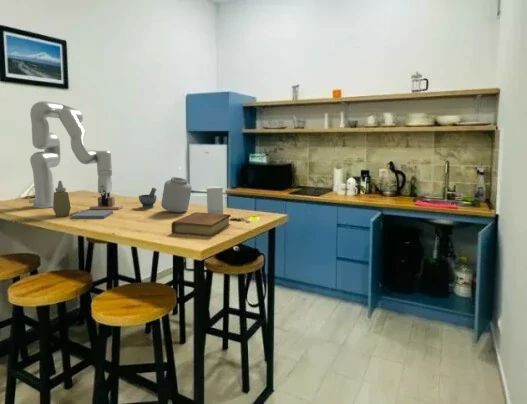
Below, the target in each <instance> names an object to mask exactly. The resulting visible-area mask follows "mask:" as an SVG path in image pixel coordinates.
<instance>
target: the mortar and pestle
mask: <svg viewBox="0 0 527 404" xmlns="http://www.w3.org/2000/svg"><path fill="white" fill-rule="evenodd" d="M157 190H158V189H157V188H156V187H152V188H151V191H150V192H149V194H141V195H138V201H139V204H141V205H142V206H141V207H142V208H143V209H153V208H154V205H155V203H156V202H157V195H156V191H157Z"/></svg>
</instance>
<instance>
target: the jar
mask: <svg viewBox="0 0 527 404" xmlns="http://www.w3.org/2000/svg"><path fill="white" fill-rule="evenodd" d="M179 170H181V167H179ZM185 175H188V173H186V174H185ZM188 181H189V180H188V179H186V178H183V177H176V176H175V177H174V176H172V177H170V179H169V180H168V179H167V180H166V181H165V182H164V186H163V191H162V198H161V205H160V206H161V207H162V208H163V210H165V211H168V212H170V213H177V214H179V213H180V214H181V213H185V212H187V211H188V208H189V204H190V200H191V199H190V198H191V193H192V190H193V189H192V185H191V184H190V183H189V182H188Z"/></svg>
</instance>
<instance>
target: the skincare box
mask: <svg viewBox="0 0 527 404" xmlns="http://www.w3.org/2000/svg"><path fill="white" fill-rule="evenodd" d="M223 190H224V189H223V186H222V185H221V186H220V185H219V186H217V185H216V186H207V187H206V202H207V203H206V204H207V205H206V208H207V212H206V213H214V214H224V196H223Z"/></svg>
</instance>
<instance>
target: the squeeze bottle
mask: <svg viewBox="0 0 527 404" xmlns="http://www.w3.org/2000/svg"><path fill="white" fill-rule="evenodd" d="M71 208H72V207H71V202H70V197H69V193H68V192H67V188H66V187H64V185H63V182H62V180H58V184H57V187H55V189H54V200H53V207H52V210H53V212H54V214H55V216H56V217H67V216H69V215H70V212H71Z"/></svg>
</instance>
